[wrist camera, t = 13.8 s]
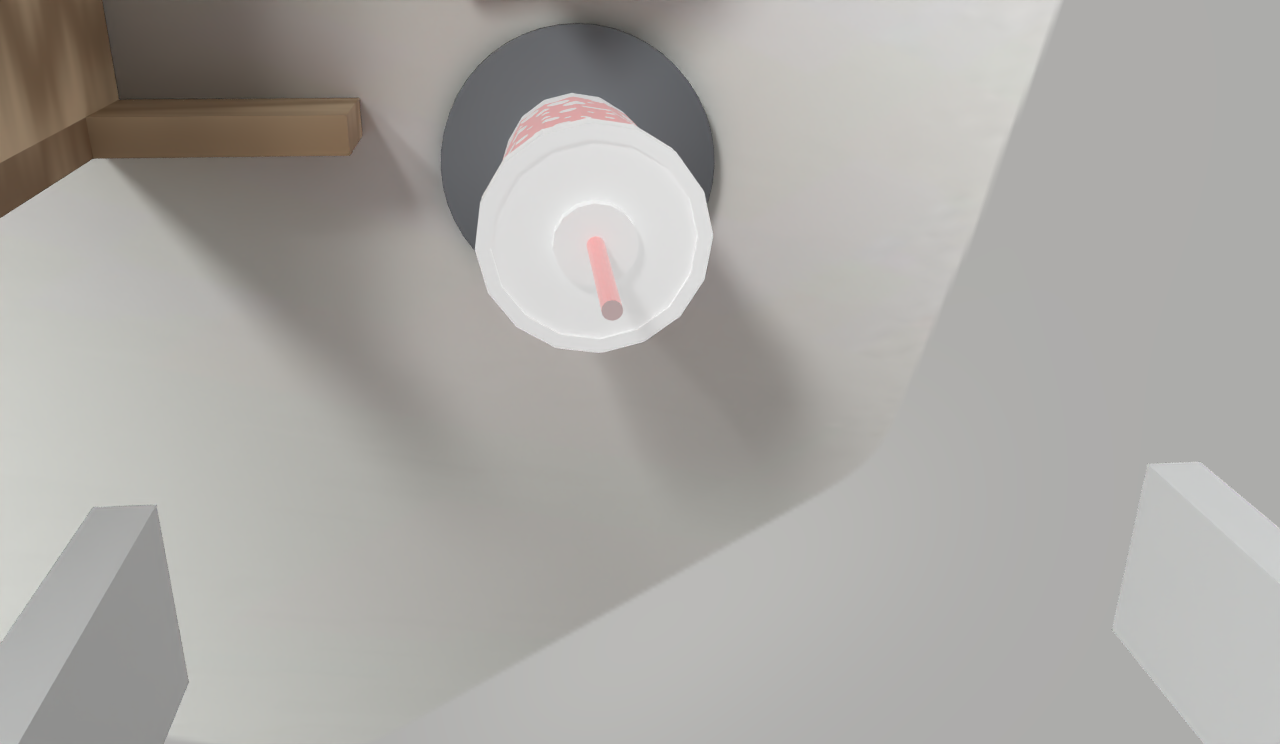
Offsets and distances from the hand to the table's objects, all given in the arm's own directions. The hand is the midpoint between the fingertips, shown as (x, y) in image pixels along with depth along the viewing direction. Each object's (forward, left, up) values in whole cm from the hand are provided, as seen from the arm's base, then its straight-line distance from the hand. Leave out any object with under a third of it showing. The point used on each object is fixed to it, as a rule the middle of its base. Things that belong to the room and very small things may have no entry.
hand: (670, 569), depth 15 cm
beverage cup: (0, 0, -24) cm, 24 cm away
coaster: (0, 0, -25) cm, 25 cm away
